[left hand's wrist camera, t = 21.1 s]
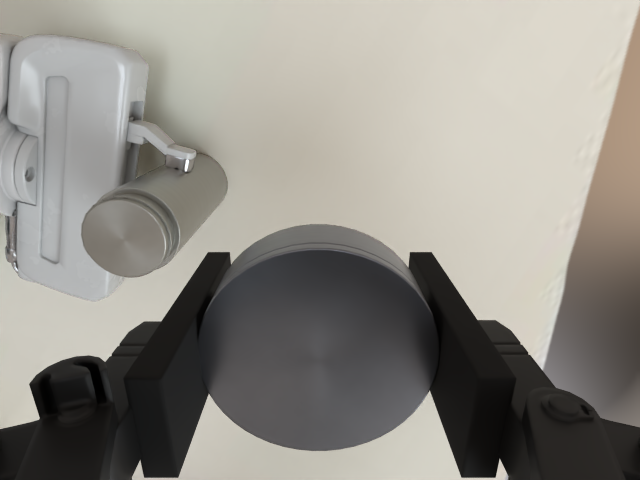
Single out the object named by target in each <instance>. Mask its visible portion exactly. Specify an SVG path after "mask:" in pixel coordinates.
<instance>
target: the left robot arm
mask: <svg viewBox="0 0 640 480" xmlns="http://www.w3.org/2000/svg"><path fill="white" fill-rule="evenodd" d="M230 266H231V261H230V252H208V253H207V255H206V256H205V258H204V259H203V261H202V262H201V264H200V265H199V267H198V268H197V270H196V271H195V273H194V274H193V276H192V277H191V279H190V280H189V282H188V283H187V284H186V286H185V287H184V289H183V290H182V292H181V293H180V295H179V296H178V298H177V299H176V301H175V302H174V304H173V305H172V307H171V308H170V310H169V311H168V313H167V314H166V316H165V317H164V319H163V320H162V322H143V323H141V324H140V325H139V326H137V327H136V328H134V329H133V330H131V331H130V332H129V333H128V334H127V335H126V336H125V338H124V339H123V340H122V342H121V343H120V346H118V347H117V348H116V349H115V351H114V352H113V353H112V356H110V357H109V358H108V360H107V361H106V362H104V361H103V360H102V359H100V358H99V357H94V356H77V357H73V358H69V359H65V360H62V361H60V362H57V363H55V364H53V365H51V366H49V367H47V368H46V369H44V370H43V371H41V372H40V373H39V374H37V375H36V376H35V378H34V379H33V380H32V381H31V383H30V384H29V385H30V388H31V391H32V394H33V398H34V401H35V404H36V407H37V410H38V413H39V417H40V419H39V420H37V421H34V422H30V423H26V424H21V425H17V426H12V427H8V428H4V429H0V480H132V476H133V473H134V471H135V469H136V467H137V465H138V463H139V461H140V460H141V465H142V469H143V474H144V478H178V477H179V474H180V471H181V468H182V466H183V463H184V460H185V457H186V455H187V452H188V449H189V446H190V444H191V441H192V438H193V435H194V432H195V430H196V427H197V424H198V421H199V419H200V416H201V413H202V410H203V408H204V405H205V402H206V399H207V397H208V394H209V392H208V391H207V388H206V386H205V384H204V382H203V379H202V372H201V364H200V356H199V348H198V334H199V329H200V325H201V322H202V319H203V316H204V314H205V312H206V310H207V308H208V306H209V304H210V302H211V300H212V298H213V296H214V294H215V292H216V290H217V288H218V286H219V284H220V282H221V280H222V278H223V277H224V275H225V273H226V271H227V270H228V268H229V267H230ZM409 270H410V271H411V273H412V275H413V276H414V278H415V280H416V282H417V284H418V286H419V288H420V290H421V292H422V294H423V296H424V298H425V300H426V302H427V304H428V306H429V308H430V310H431V312H432V314H433V317H434V320H435V323H436V325H437V330H438V335H439V342H440V356H439V364H438V369H437V372H436V376H435V379H434V382H433V384H432V386H431V388H430V392H431V395H432V397H433V400H434V403H435V406H436V408H437V411H438V414H439V417H440V419H441V422H442V425H443V428H444V430H445V433H446V436H447V439H448V441H449V444H450V447H451V450H452V452H453V455H454V458H455V461H456V463H457V466H458V469H459V472H460V475H461V477H462V478H495V477H496V473H497V468H498V463H499V459H500V460H501V462H502V464H503V466H504V468H505V470H506V472H507V474H508V476H509V477H508V480H640V427H635V426H631V425H626V424H622V423H617V422H613V421H609V420H605V419H602V418H600V417H599V415H598V414H597V412H596V411H595V409H594V408H593V407H592V406H591V405H589V404H588V403H587V402H586V401H585V400H583V399H582V398H580V397H578V396H576V395H574V394H572V393H570V392H567V391H564V390H561V389H558V388H556V387H555V386H554V385H553V384H552V382H551V381H550V380H549V378H548V377H547V376H546V375H545V373H544V372H543V371H542V370H541V368H540V367H539V366H538V364H537V363H536V362H535V361H534V359H533V358H532V357H531V356H530V355H528V352H527V350H526V349H525V348H524V347H523V345H520V341H519V340H518V339H517V338H516V336H515V335H514V334H513V333H512V331H511V330H509V329H508V328H506V327H505V326H503V325H502V324H500V323H499V322H497V321H496V320H477V319H476V317H475V316H474V314H473V313H472V312H471V310H470V309H469V307H468V306H467V304H466V303H465V301H464V300H463V298H462V297H461V295H460V294H459V292H458V291H457V289H456V288H455V286H454V285H453V283H452V282H451V280H450V279H449V277H448V276H447V274H446V273H445V272H444V270H443V269H442V267H441V266H440V264H439V263H438V261H437V260H436V258H435V257H434V255H433V254H432V252H410V258H409Z"/></svg>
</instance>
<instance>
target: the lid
mask: <svg viewBox="0 0 640 480" xmlns="http://www.w3.org/2000/svg"><path fill="white" fill-rule="evenodd" d="M198 348H199V356H200V364H201V372H202V379H203V382H204V384H205V386H206V388H207V391H208V392H209V394H210V396H211V397H212V399H213V400H214V402H215V403H216V404H217V406H218V407H219V408H220V409H221V410H222V411H223V413H224V414H225V415H226V416H228V417H229V418H230V419H231V420H232V421H233V422H234V423H236V424H237V425H238V426H240V427H241V428H243V429H244V430H245V431H247V432H249V433H251V434H253V435H254V436H256V437H258V438H261V439H263V440H265V441H268V442H270V443H273V444H277V445H280V446H283V447H288V448H293V449H299V450H309V451H328V450H338V449H344V448H349V447H354V446H357V445H361V444H364V443H367V442H369V441H372V440H374V439H376V438H379V437H381V436H383V435H384V434H386V433H388V432H390V431H392V430H393V429H394V428H396V427H397V426H399V425H400V424H401V423H403V422H404V421H405V420H406V419H407V418H408V417H409V416H410V415H412V414H413V413H414V411H415V410H416V409H417V408H418V407H419V406H420V404H421V403H422V402H423V400H424V399H425V397H426V395H427V394H428V392H429V390H430V388H431V386H432V384H433V382H434V379H435V376H436V372H437V369H438V364H439V356H440V342H439V335H438V330H437V325H436V323H435V320H434V317H433V314H432V312H431V310H430V308H429V306H428V304H427V302H426V300H425V298H424V296H423V294H422V292H421V290H420V288H419V286H418V284H417V282H416V280H415V278H414V276H413V275H412V273H411V271H410V270H409V268H408V267H407V266H406V264H405V263H404V262H403V260H402V259H401V258H400V257H399V256H398V255H397V254H396V253H395V252H394V251H393V250H391V249H390V248H389V247H387V246H386V245H384V244H383V243H382V242H380V241H378V240H376V239H375V238H373V237H371V236H369V235H367V234H364V233H362V232H359V231H357V230H354V229H350V228H346V227H342V226H335V225H327V224H310V225H302V226H295V227H291V228H287V229H284V230H280V231H278V232H275V233H273V234H270V235H268V236H266V237H264V238H262V239H261V240H259V241H257V242H255V243H254V244H253V245H251V246H250V247H249V248H247V249H246V250H245V251H243V252H242V253H241V254H240V255H239V256H238V257H237V258H236V259H235V260H234V262H233V263H232V264H231V266H230V267H229V268H228V270H227V271H226V273H225V275H224V277H223V278H222V280H221V282H220V284H219V286H218V288H217V290H216V292H215V294H214V296H213V298H212V300H211V302H210V304H209V306H208V308H207V310H206V312H205V314H204V316H203V319H202V322H201V325H200V329H199V334H198Z"/></svg>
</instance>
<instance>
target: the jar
mask: <svg viewBox="0 0 640 480" xmlns="http://www.w3.org/2000/svg"><path fill="white" fill-rule="evenodd" d="M226 192H227V178H226V175H225V172H224V170H223V169H222V167H221V166H220V165H219V164H218V162H216V161H215V160H214V159H212V158H211V157H209V156H207V155H204V154H200V153H196V157H195V163H194V168H193V170H191V171H189V172H186V171H181V170H179V169H178V168H177V167H176V168H170V167H166V166H165V165H163V166H161V167H159V168H157V169H155V170H153V171H151V172H148V173H146V174H144V175H142V176H140V177H138V178H136V179H134V180H132V181H130V182H128V183H126V184H124V185H122V186H120V187H118V188H116V189H114V190H112V191H110V192H108V193H106V194H105V195H103V196H102V197H101V198H100V199H99V200H98V201H97V203H96V204H94V205H92V207H91V208H90V209H89V210H88V212H87V213H86V214H85V216H84V219H83V222H82V223H81V238H82V242H83V247H84V249H85V250H86V252H87V254H88V255H90V257H91V258H92V259H93V260H94V261H95V263H97V264H98V265H99V266H100V267H101V268H103V269H104V270H106V271H108V272H110V273H112V274H115V275H118V276H122V277H139V276H143V275H146V274H148V273H150V272H152V271H154V270H156V269H159V268H161V267H163V266H164V265H166V264H167V263H168V262H170V261H171V260H172V258H173V257H174V256H175V255H176V254H177V253H178V252H179V250H180V249H181V248H182V247H183V246H184V245H185V243H186V242H187V241H188V240H189V239H190V238H191V237H192V235H193V234H194V233H195V232H196V231H197V230H198V228H199V227H200V226H201V225H202V224H203V223H204V222H205V220H206V219H207V218H208V217H209V216H210V215H211V213H212V212H213V211H214V210H215V209H216V208H217V206H218V205H219V204H220V203H221V202H222V201H223V199H224V197H225V195H226Z"/></svg>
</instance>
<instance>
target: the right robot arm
mask: <svg viewBox="0 0 640 480" xmlns="http://www.w3.org/2000/svg"><path fill="white" fill-rule="evenodd" d="M148 73H149V65H148V63H147V62H146V61H145V59H144V58H143V57H142V56H141V54H140V53H139V52H138V51H136V50H133V49H129V48H125V47H121V46H117V45H113V44H108V43H103V42H98V41H93V40H87V39H81V38H75V37H68V36H59V35H48V34H37V35H31V36H28V37H21V36H17V35H11V34H3V33H0V214H2V215H5V230H6V237H7V246H6V248H5V255H6V259H7V261H8V262H11V263H12V266H13V268H14V270H15V271H16V272H17V273H18V276H19V277H20V278H22V279H24V280H26V281H30V282H35V283H39V284H41V285H44V286H46V287H49V288H51V289H54V290H57V291H60V292H62V293H65V294H68V295H71V296H75V297H78V298H81V299H85V300H89V301H99V300H101V299H104V298H106V297H108V296H110V295H111V294H112V293H113V292H114V291H115V290H116V289H117V288H118V287H119V286H120V285H121V284H122V283H123V281H124V277H122V276H118V275H115V274H112V273H110V272H108V271H106V270H104V269H103V268H101V267H100V266H99V265H98V264H97V263H95V261H94V260H93V259H92V258H91V257H90V255H88V254H87V252H86V250H85V249H84V247H83V242H82V238H81V223H82V222H83V219H84V216H85V214H86V213H87V212H88V210H89V209H90V208H91V207H92V205H94V204H96V203H97V201H98V200H99V199H100V198H101V197H102V196H103V195H105V194H106V193H108V192H110V191H112V190H114V189H116V188H118V187H120V186H122V185H124V184H126V183H128V182H130V181H132V180H134V179H136V174H137V166H138V157H139V149H140V145H142V144H145V143H148V142H150V143H151V144H152V145H154V146H155V147H156V148H157V149H158V150H160V151H161V152H162V153H163V154H164V155H165V156H166V162H165V166H166V167H170V168H176V167H177V168H178V169H179V170H181V171H186V172H189V171H191V170H193V168H194V163H195V157H196V150H194V149H190V148H187V147H183V146H179V145H176V144H175V142H174V141H173V140H172V139H171V138H170V137H169V136H168V135H167V134H166V133H165V132H164V131H163V130H161V129H160V128H159V127H158V126H157V125H156V124H153V123H149V122H146V121H143V115H144V106H145V98H146V89H147V81H148Z"/></svg>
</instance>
